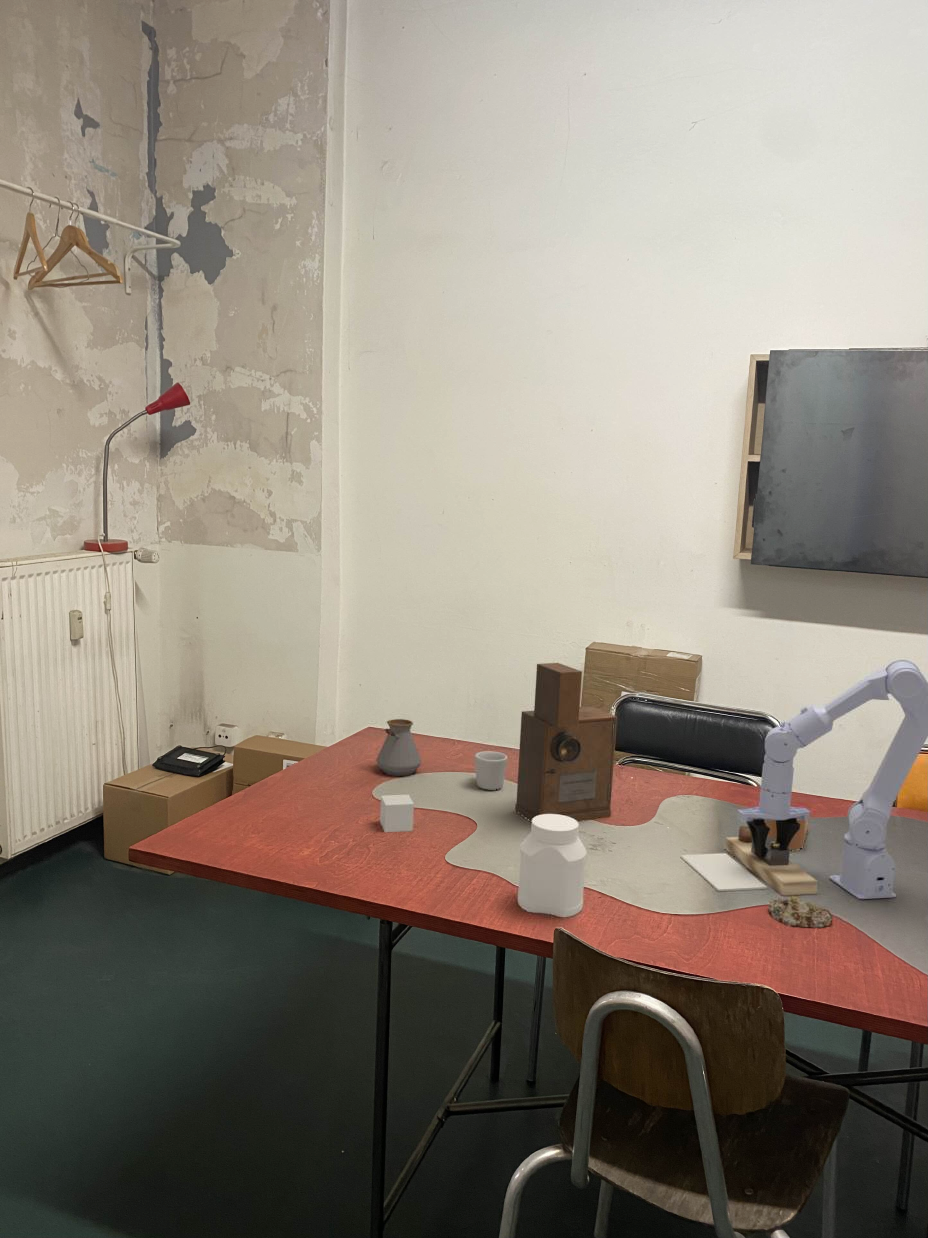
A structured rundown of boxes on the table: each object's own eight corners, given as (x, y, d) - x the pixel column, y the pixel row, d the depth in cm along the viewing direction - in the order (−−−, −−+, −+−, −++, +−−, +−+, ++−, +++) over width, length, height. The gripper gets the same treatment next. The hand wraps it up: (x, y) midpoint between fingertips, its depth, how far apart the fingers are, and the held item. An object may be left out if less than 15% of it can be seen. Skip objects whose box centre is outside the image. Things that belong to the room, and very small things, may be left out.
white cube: (412, 831, 191) (414, 804, 190) (384, 832, 190) (385, 805, 189) (407, 821, 197) (408, 794, 196) (380, 822, 195) (381, 795, 195)
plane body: (816, 893, 169) (819, 868, 169) (782, 895, 168) (785, 870, 167) (755, 847, 191) (757, 825, 190) (724, 849, 189) (726, 826, 189)
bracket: (801, 854, 189) (804, 822, 188) (759, 846, 192) (762, 815, 191) (808, 827, 205) (811, 798, 204) (770, 820, 208) (772, 791, 207)
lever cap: (788, 865, 176) (790, 846, 175) (769, 866, 175) (771, 847, 175) (769, 850, 183) (770, 832, 182) (751, 851, 182) (752, 833, 181)
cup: (463, 780, 226) (464, 749, 225) (491, 777, 230) (493, 746, 228) (482, 794, 217) (483, 761, 215) (511, 790, 220) (513, 759, 219)
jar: (512, 910, 157) (517, 827, 155) (522, 887, 166) (527, 809, 164) (579, 920, 154) (585, 836, 152) (585, 896, 164) (591, 817, 162)
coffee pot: (382, 762, 237) (384, 706, 235) (425, 766, 236) (427, 710, 234) (360, 788, 217) (362, 727, 214) (407, 793, 215) (409, 731, 213)
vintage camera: (547, 833, 193) (557, 672, 188) (515, 811, 206) (523, 659, 201) (621, 823, 202) (632, 668, 197) (585, 802, 214) (595, 656, 209)
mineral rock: (768, 911, 156) (771, 882, 163) (765, 931, 158) (768, 901, 165) (834, 926, 153) (834, 896, 160) (831, 946, 155) (831, 915, 161)
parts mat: (766, 889, 171) (767, 887, 170) (718, 891, 168) (718, 889, 168) (725, 855, 186) (725, 853, 186) (680, 857, 184) (680, 855, 184)
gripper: (797, 781, 182) (791, 846, 184) (732, 783, 179) (726, 848, 181) (818, 793, 176) (811, 860, 177) (750, 795, 172) (744, 863, 174)
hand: (769, 855), depth 179 cm, fingers closed on lever cap, 4 cm apart
